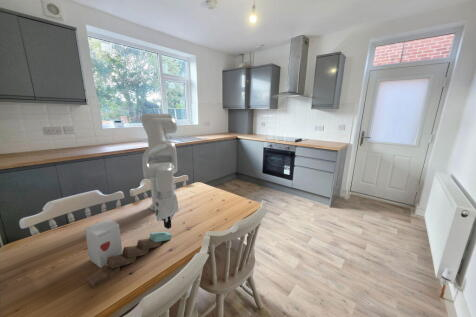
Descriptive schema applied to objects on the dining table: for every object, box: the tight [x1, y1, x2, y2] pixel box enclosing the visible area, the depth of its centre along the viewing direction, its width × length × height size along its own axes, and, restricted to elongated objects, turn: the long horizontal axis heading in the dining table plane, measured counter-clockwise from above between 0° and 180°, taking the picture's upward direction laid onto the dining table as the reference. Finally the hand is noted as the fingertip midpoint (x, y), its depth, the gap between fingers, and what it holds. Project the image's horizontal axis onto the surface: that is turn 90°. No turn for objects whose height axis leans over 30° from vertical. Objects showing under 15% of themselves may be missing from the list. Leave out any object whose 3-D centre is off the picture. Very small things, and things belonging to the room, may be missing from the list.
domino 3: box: [122, 245, 150, 258], centre depth 81 cm, size 2×4×9 cm
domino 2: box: [107, 254, 137, 268], centre depth 76 cm, size 2×4×9 cm
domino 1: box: [87, 264, 121, 289], centre depth 71 cm, size 2×4×9 cm
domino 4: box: [136, 238, 162, 249], centre depth 86 cm, size 2×4×9 cm
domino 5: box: [148, 231, 173, 242], centre depth 91 cm, size 2×4×9 cm
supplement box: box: [84, 218, 123, 269], centre depth 79 cm, size 9×9×15 cm
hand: (167, 227), depth 94 cm, fingers closed
